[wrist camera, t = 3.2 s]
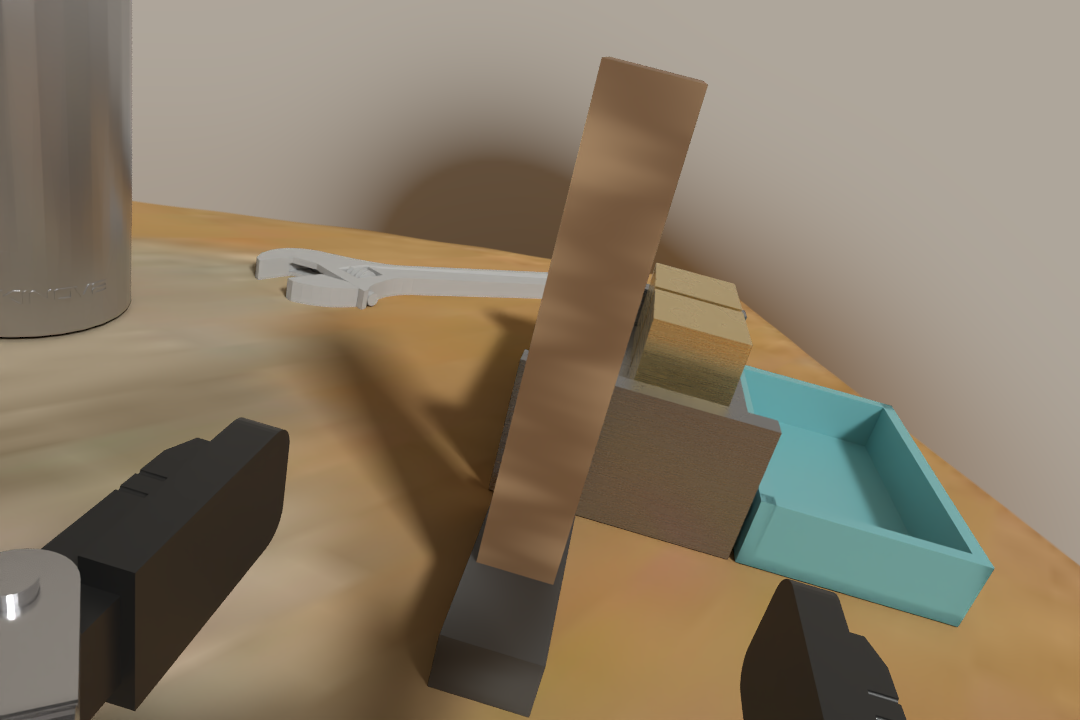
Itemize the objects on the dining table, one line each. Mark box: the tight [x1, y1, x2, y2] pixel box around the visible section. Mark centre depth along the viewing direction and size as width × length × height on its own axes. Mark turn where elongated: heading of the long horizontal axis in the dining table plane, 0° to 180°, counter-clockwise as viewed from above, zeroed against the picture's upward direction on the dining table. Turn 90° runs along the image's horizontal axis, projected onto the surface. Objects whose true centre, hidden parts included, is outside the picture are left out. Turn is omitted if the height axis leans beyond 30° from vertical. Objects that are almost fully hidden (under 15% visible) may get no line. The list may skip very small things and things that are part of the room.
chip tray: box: [733, 365, 995, 627], centre depth 35 cm, size 9×14×3 cm, turn 170°
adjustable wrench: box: [255, 248, 548, 310], centre depth 49 cm, size 25×6×2 cm, turn 115°
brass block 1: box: [630, 263, 742, 365], centre depth 36 cm, size 4×4×4 cm
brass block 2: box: [629, 289, 753, 407], centre depth 32 cm, size 4×4×4 cm
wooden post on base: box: [428, 57, 708, 717], centre depth 21 cm, size 3×9×17 cm, turn 171°
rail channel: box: [489, 284, 782, 559], centre depth 35 cm, size 10×14×6 cm
